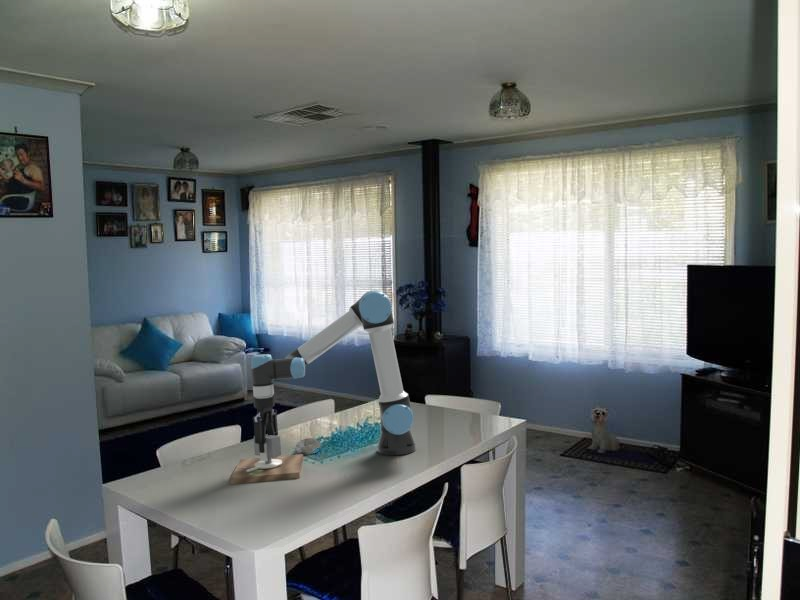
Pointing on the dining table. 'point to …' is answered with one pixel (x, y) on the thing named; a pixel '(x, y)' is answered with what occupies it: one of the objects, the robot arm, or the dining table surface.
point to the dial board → (268, 470)
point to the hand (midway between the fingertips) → (268, 458)
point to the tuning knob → (268, 453)
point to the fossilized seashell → (306, 446)
